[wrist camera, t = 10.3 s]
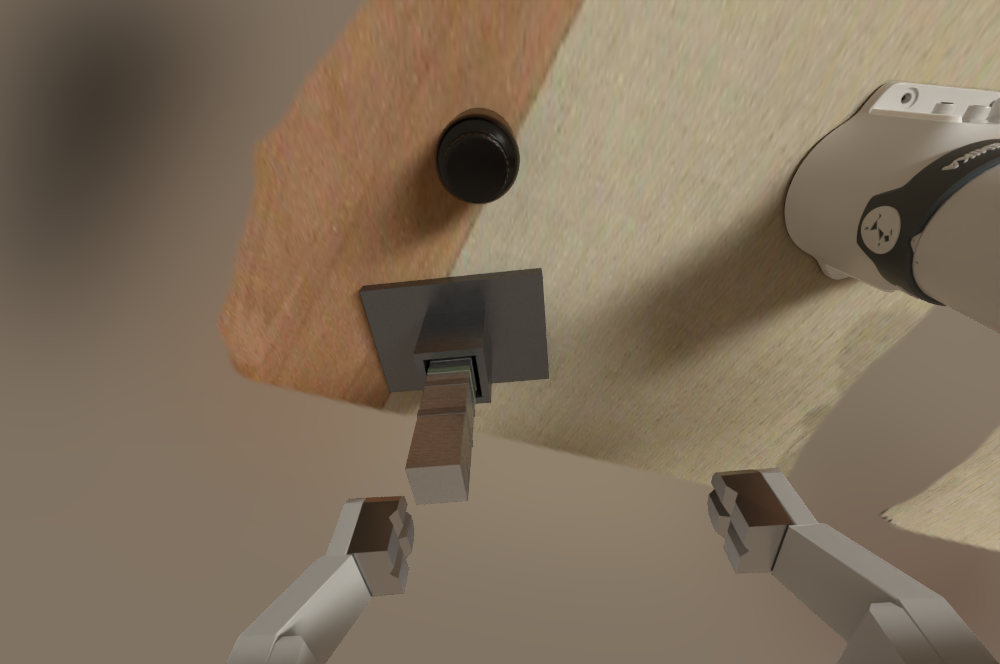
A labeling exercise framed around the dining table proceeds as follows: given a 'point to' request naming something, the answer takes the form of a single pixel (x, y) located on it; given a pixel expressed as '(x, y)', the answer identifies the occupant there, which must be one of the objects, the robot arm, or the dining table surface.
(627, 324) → the dining table surface
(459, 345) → the stand
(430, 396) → the column
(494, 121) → the supplement bottle
